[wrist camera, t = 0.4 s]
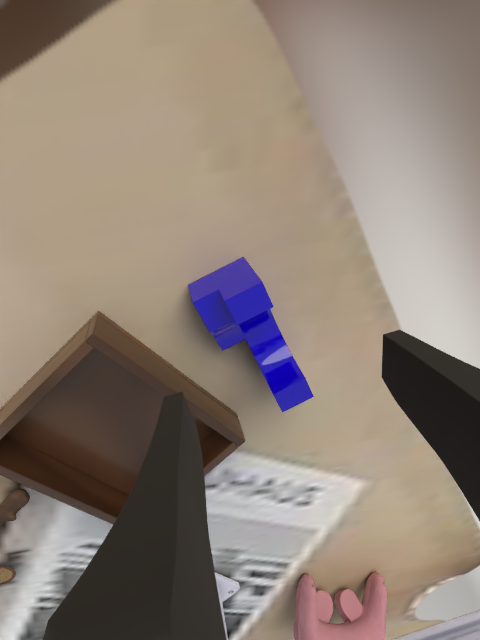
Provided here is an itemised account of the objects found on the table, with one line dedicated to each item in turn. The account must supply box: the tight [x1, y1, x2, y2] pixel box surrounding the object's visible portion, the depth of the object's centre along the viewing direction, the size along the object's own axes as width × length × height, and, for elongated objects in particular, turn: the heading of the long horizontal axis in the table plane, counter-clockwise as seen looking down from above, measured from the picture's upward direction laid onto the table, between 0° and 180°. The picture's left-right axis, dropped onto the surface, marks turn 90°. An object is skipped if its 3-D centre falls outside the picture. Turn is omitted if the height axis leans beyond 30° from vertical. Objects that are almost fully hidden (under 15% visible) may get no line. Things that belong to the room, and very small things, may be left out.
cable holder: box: [188, 257, 314, 412], centre depth 22 cm, size 8×4×4 cm, turn 24°
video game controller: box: [294, 572, 387, 640], centre depth 37 cm, size 10×5×7 cm, turn 71°
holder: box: [0, 311, 245, 525], centre depth 23 cm, size 10×12×3 cm
